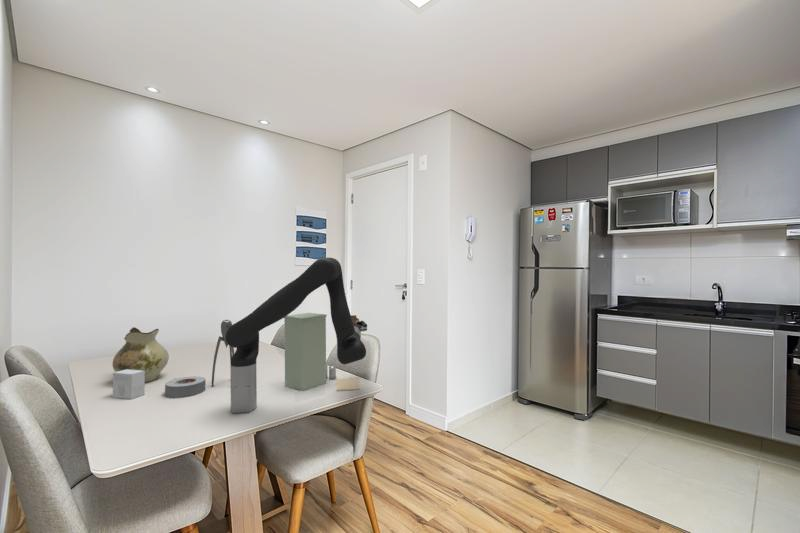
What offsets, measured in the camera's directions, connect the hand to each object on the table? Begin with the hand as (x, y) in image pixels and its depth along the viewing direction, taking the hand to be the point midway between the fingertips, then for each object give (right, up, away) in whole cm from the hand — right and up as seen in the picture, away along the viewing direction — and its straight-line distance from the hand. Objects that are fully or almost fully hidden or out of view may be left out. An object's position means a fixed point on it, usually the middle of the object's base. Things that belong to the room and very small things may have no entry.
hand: (351, 319), depth 170 cm
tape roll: (-72, -31, -6) cm, 78 cm away
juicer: (-57, -31, +4) cm, 65 cm away
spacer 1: (-15, -30, +14) cm, 37 cm away
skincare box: (-93, -31, -10) cm, 99 cm away
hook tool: (+2, -4, +3) cm, 5 cm away
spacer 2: (-11, -30, +12) cm, 35 cm away
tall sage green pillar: (-22, -30, +4) cm, 37 cm away
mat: (-2, -30, +3) cm, 30 cm away
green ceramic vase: (-104, -31, +12) cm, 109 cm away
